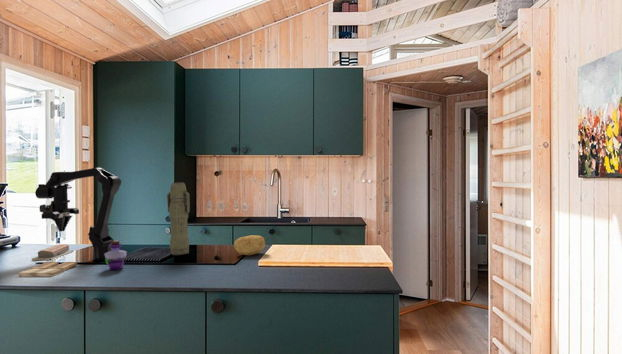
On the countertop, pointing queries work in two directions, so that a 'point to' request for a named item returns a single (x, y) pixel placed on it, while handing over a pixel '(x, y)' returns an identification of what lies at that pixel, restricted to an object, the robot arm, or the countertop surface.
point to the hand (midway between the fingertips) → (61, 231)
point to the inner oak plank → (66, 265)
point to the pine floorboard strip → (41, 272)
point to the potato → (249, 244)
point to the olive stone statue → (178, 218)
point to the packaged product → (53, 252)
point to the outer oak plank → (47, 265)
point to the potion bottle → (115, 256)
